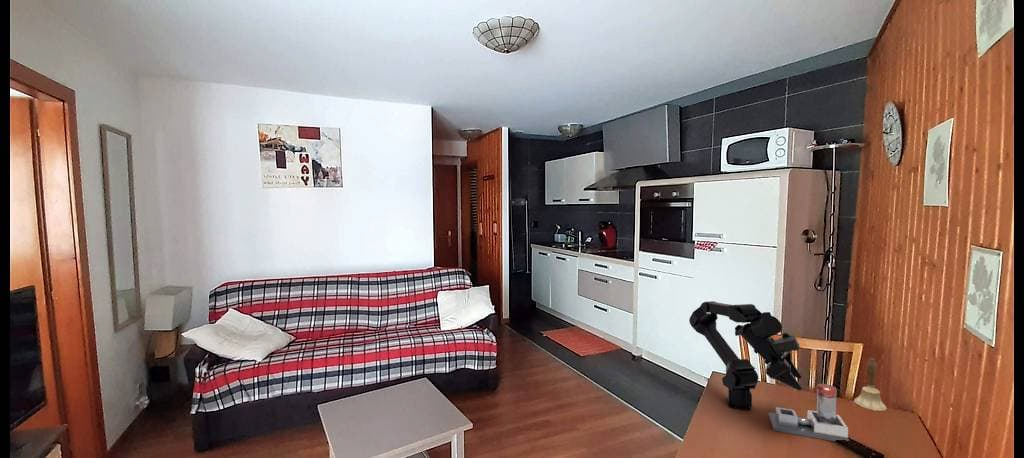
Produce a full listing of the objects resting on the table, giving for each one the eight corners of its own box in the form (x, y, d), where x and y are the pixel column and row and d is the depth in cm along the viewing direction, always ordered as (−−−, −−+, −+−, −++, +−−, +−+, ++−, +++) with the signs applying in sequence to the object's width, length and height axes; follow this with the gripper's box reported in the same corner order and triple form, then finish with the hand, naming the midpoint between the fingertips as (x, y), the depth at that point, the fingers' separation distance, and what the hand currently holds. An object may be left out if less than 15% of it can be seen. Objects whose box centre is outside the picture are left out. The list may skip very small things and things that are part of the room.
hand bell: (893, 412, 131) (895, 364, 130) (863, 410, 132) (865, 362, 131) (876, 400, 139) (877, 354, 138) (848, 398, 140) (849, 353, 139)
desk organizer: (773, 430, 121) (774, 416, 121) (768, 415, 130) (768, 403, 129) (848, 443, 114) (849, 429, 114) (838, 427, 122) (838, 414, 122)
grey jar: (818, 430, 119) (819, 389, 118) (814, 422, 123) (815, 382, 122) (838, 434, 117) (839, 391, 116) (833, 425, 121) (833, 385, 120)
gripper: (780, 334, 117) (827, 381, 112) (782, 319, 133) (823, 359, 127) (748, 355, 122) (791, 401, 117) (753, 338, 138) (791, 377, 132)
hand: (800, 383), depth 123 cm, fingers open, 9 cm apart
